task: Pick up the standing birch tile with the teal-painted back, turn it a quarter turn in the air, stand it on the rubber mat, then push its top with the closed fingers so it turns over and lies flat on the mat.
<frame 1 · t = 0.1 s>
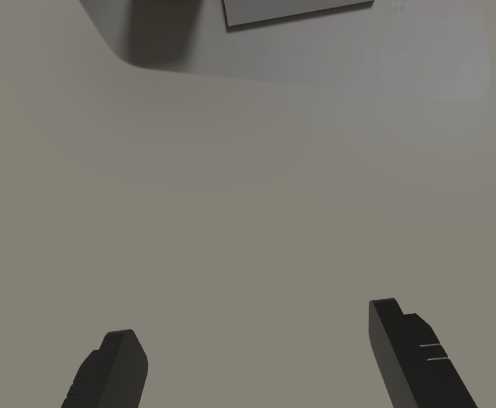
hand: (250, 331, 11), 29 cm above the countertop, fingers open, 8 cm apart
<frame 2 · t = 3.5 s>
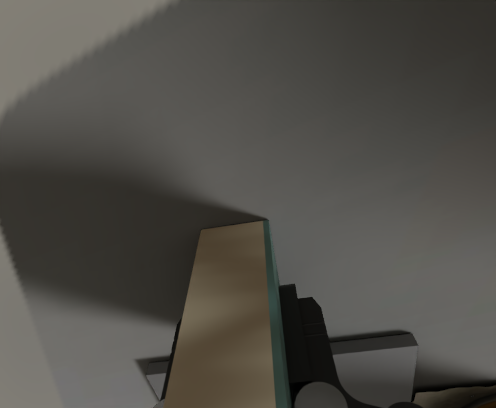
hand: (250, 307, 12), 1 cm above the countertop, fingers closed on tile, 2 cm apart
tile: (249, 287, 13), on the countertop, touching gripper
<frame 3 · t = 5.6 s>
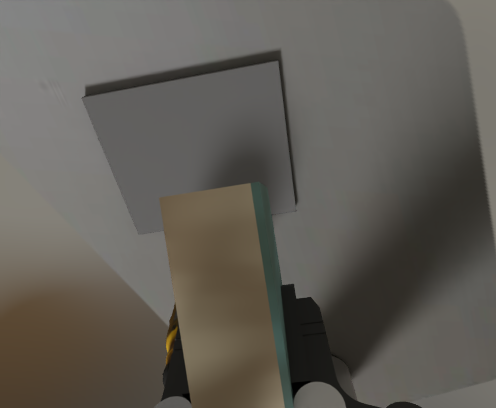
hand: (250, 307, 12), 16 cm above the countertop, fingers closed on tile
mat: (199, 156, 26), on the countertop
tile: (227, 191, 11), point 15 cm above the countertop, tilted 61°, touching gripper
condiment: (216, 257, 32), on the countertop
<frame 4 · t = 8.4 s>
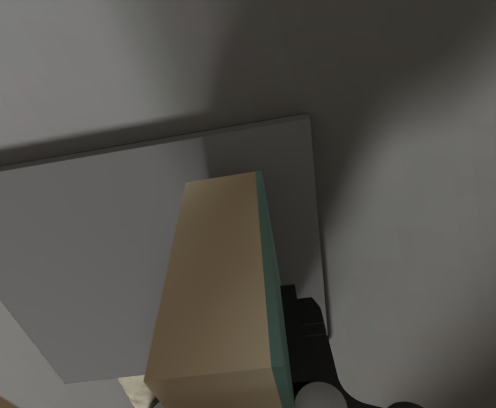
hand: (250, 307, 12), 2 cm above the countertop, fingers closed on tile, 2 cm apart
mat: (159, 275, 15), on the countertop
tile: (219, 245, 8), point 5 cm above the countertop, tilted 98°, touching gripper
condiment: (197, 402, 20), on the countertop
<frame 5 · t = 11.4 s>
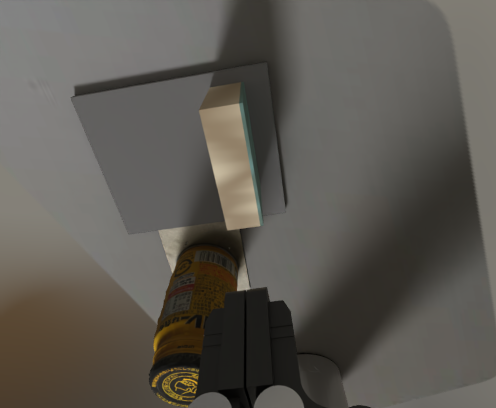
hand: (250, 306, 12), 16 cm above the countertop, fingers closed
mat: (189, 157, 26), on the countertop
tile: (224, 94, 20), point 4 cm above the countertop, tilted 90°, touching mat
condiment: (207, 258, 32), on the countertop
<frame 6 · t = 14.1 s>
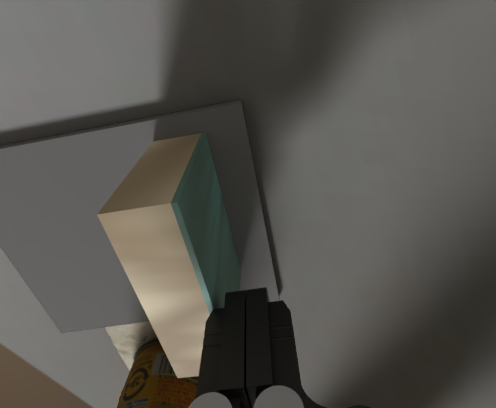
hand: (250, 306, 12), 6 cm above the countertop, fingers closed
mat: (135, 235, 18), on the countertop
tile: (162, 164, 12), point 4 cm above the countertop, tilted 90°, touching gripper, mat
condiment: (175, 353, 23), on the countertop
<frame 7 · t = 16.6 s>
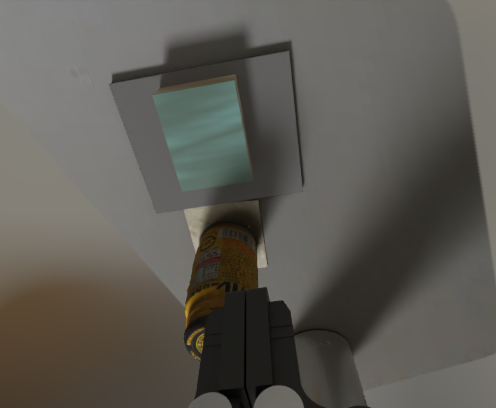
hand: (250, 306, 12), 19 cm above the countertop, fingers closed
mat: (214, 140, 29), on the countertop
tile: (195, 84, 24), point 2 cm above the countertop, tilted 90°, touching mat
condiment: (227, 236, 34), on the countertop
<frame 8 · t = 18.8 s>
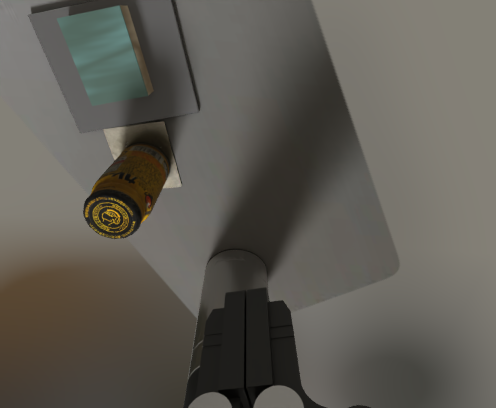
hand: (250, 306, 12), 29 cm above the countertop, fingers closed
mat: (121, 66, 35), on the countertop
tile: (92, 11, 31), point 2 cm above the countertop, tilted 90°, touching mat
condiment: (145, 157, 41), on the countertop
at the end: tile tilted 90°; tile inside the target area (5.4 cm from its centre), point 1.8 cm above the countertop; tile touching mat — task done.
